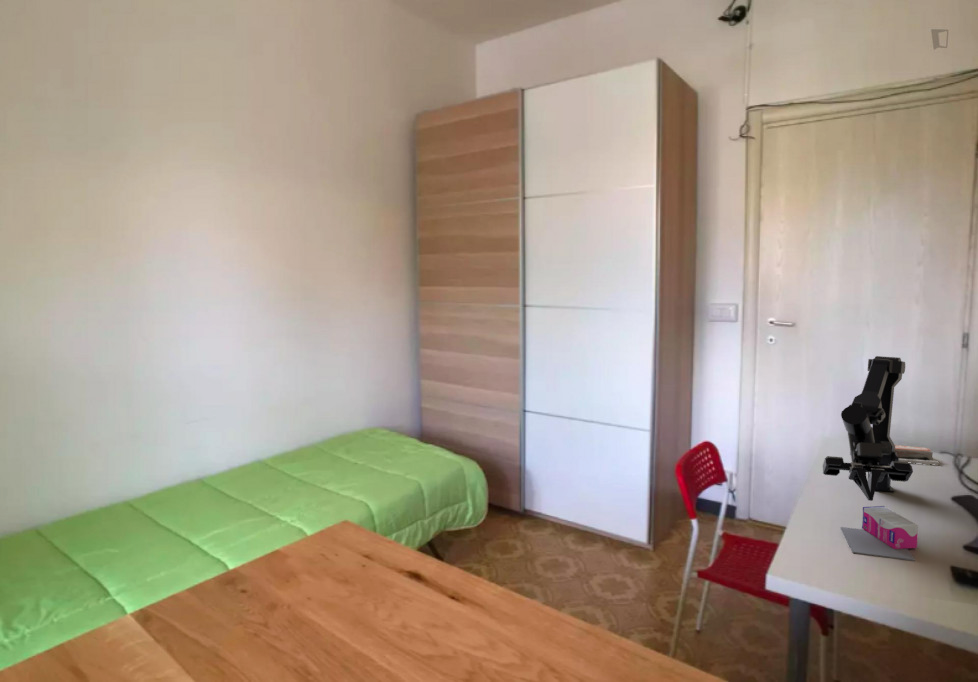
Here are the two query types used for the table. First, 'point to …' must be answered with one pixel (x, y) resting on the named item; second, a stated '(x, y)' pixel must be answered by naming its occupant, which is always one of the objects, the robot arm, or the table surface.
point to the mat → (872, 545)
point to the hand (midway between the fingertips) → (870, 499)
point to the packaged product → (915, 455)
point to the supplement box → (890, 527)
